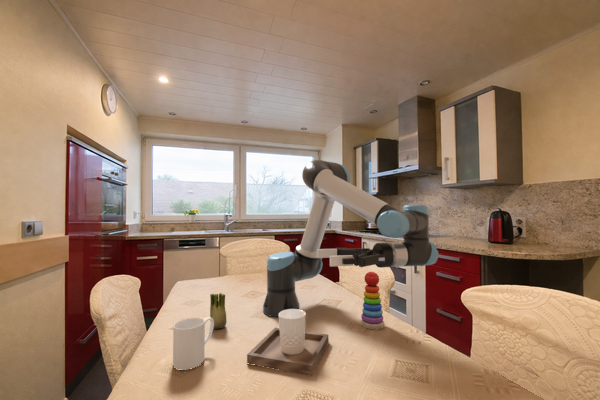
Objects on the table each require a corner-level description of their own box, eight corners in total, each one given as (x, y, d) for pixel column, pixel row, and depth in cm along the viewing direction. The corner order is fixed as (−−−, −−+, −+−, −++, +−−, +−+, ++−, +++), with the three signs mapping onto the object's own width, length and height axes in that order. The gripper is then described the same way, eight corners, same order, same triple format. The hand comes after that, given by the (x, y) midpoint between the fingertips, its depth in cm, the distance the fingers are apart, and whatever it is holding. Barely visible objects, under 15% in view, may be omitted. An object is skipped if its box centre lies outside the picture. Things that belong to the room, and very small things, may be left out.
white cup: (278, 343, 80) (278, 309, 81) (304, 341, 81) (304, 308, 82) (279, 357, 73) (278, 319, 73) (308, 355, 73) (307, 317, 74)
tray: (247, 364, 71) (247, 354, 71) (275, 335, 88) (274, 327, 88) (312, 376, 65) (311, 365, 66) (328, 342, 82) (328, 334, 83)
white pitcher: (185, 374, 67) (186, 331, 68) (166, 366, 71) (166, 325, 72) (222, 352, 77) (222, 315, 78) (203, 346, 81) (203, 311, 82)
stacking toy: (385, 331, 90) (383, 274, 91) (361, 329, 91) (359, 274, 93) (383, 322, 98) (381, 270, 99) (360, 320, 99) (359, 269, 100)
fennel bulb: (208, 327, 96) (208, 293, 96) (220, 323, 99) (220, 290, 100) (216, 332, 92) (216, 296, 92) (229, 327, 95) (229, 293, 96)
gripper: (412, 276, 71) (337, 280, 67) (370, 259, 96) (313, 262, 92) (412, 247, 72) (336, 250, 68) (370, 238, 96) (313, 240, 92)
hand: (323, 257), depth 80 cm, fingers open, 13 cm apart
